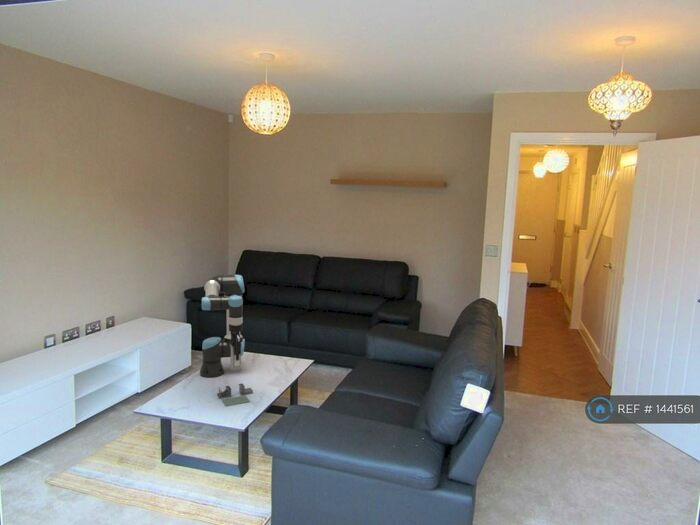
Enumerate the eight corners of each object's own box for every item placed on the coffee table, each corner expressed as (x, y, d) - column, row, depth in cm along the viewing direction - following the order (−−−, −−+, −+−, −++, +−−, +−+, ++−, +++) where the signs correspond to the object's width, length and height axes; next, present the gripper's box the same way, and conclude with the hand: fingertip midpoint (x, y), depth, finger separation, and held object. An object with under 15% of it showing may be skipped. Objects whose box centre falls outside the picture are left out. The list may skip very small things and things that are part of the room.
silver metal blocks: (217, 395, 287) (217, 386, 286) (250, 390, 296) (250, 381, 296) (219, 399, 283) (219, 389, 282) (253, 393, 292) (253, 384, 291)
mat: (221, 400, 281) (221, 399, 281) (245, 395, 288) (245, 395, 288) (225, 406, 274) (225, 405, 274) (250, 402, 280) (250, 401, 280)
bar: (230, 367, 279) (229, 343, 277) (239, 366, 281) (239, 342, 279) (232, 370, 274) (232, 346, 272) (241, 369, 277) (241, 345, 275)
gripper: (225, 320, 280) (225, 359, 283) (233, 328, 265) (233, 370, 268) (238, 319, 283) (238, 358, 287) (246, 327, 268) (246, 368, 272)
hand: (235, 363), depth 278 cm, fingers closed on bar, 5 cm apart
